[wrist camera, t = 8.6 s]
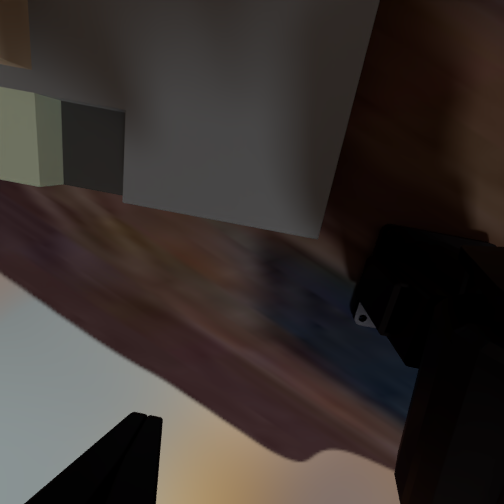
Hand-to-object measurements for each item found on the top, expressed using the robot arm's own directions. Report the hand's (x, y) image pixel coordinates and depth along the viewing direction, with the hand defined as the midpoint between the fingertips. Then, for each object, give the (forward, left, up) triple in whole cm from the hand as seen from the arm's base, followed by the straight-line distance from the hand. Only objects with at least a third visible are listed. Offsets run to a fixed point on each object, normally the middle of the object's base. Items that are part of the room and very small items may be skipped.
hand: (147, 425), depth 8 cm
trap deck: (+5, -11, -11) cm, 17 cm away
